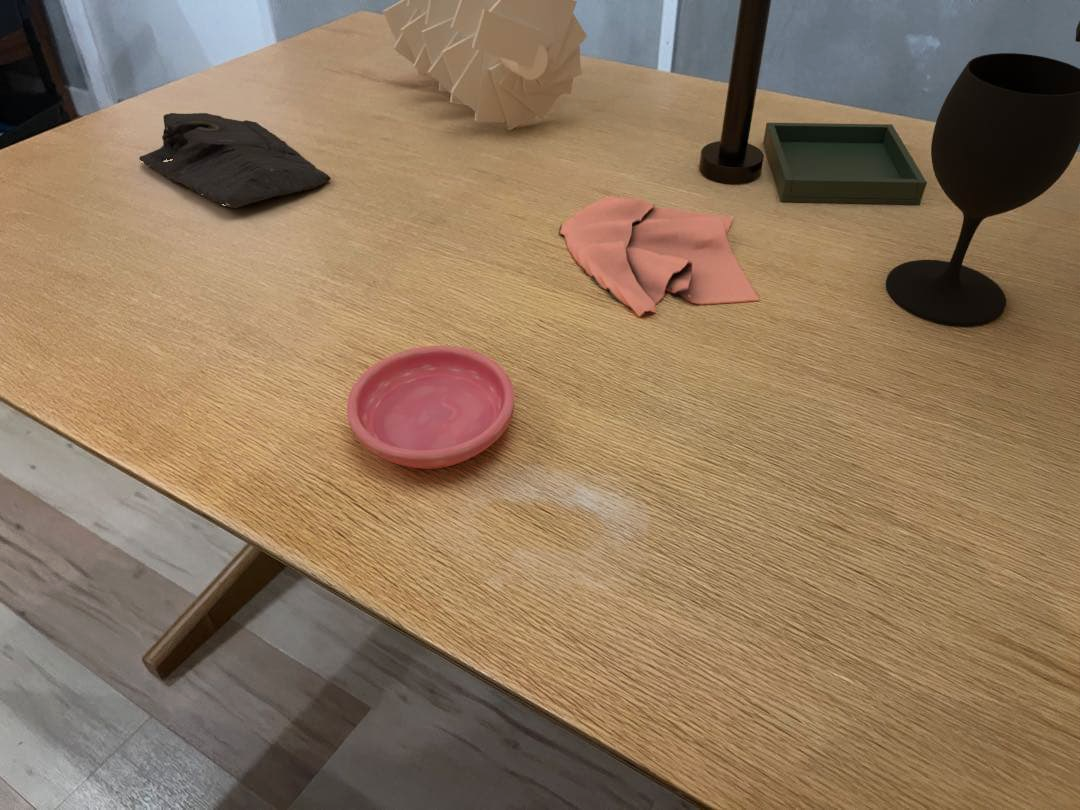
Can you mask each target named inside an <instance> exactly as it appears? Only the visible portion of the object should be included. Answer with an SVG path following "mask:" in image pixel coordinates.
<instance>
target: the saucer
mask: <svg viewBox="0 0 1080 810" xmlns="http://www.w3.org/2000/svg"><path fill="white" fill-rule="evenodd" d="M515 397H516V396H515V388H514V386H513V382H512V380H511V378H510V376H509V375H508V373H507V372H506V371H505V370H504V369H503V367H502V366H501V365H500V364H498V362H496V361H495V360H493V359H492V358H490V357H488V356H487V355H485V354H483V353H480V352H478V351H476V350H473V349H468V348H465V347H459V346H453V345H426V346H419V347H414V348H409V349H405V350H401V351H399V352H396V353H393V354H391V355H389V356H386V357H384V358H382V359H381V360H379V361H377V362H375V363H374V364H373V365H371V366H370V367H369V368H367V369H366V370H365V371H364V372H363V373H362V374H361V375H360V377H358V378H357V379H356V382H354V384H353V386H352V388H351V389H350V392H349V394H348V397H347V400H346V401H347V403H346V415H347V420H348V423H349V427H350V429H351V432H352V434H353V435H354V437H355V438H356V439H357V441H358V442H359V443H360V444H361V445H362V446H363V448H365V449H366V450H368V451H369V452H371V453H372V454H374V455H375V456H377V457H378V458H382V459H384V460H385V461H388V462H390V463H394V464H397V465H399V466H404V467H409V468H414V469H421V470H434V469H443V468H447V467H452V466H455V465H458V464H460V463H463V462H465V461H468V460H469V459H472V458H474V457H475V456H477V455H480V453H482V452H483V451H485V450H486V449H489V447H490V446H491V445H492V444H494V443H496V441H497V440H499V438H501V436H502V435H503V434H504V433H505V431H506V430H507V428H508V426H509V425H510V423H511V420H512V419H513V415H514V412H515V406H516V405H515V404H516V401H515V400H516V399H515Z"/></svg>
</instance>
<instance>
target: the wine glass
mask: <svg viewBox="0 0 1080 810" xmlns="http://www.w3.org/2000/svg"><path fill="white" fill-rule="evenodd" d="M934 124H935V125H934V128H933V133H932V137H931V143H930V144H931V145H930V159H931V165H932V170H933V173H934V177H935V179H936V181H937V183H938V185H939V186H940V188H941V190H942V191H943V193H944V194H945V196H946V197H947V198H948V199H949V201H950V202H951V203H952V204H954V206H956V207H957V208H958V209H959V210H960V211H961V212H962V216H963V217H962V218H963V219H962V223H961V224H962V225H961V229H960V232H959V236H958V239H957V242H956V245H955V247H954V250H953V253H952V256H951V258H950V260H949V261H946V260H941V259H940V260H939V259H918V260H917V259H916V260H910V261H907V262H904V263H901V264H898V265H897V266H895V267H893V269H892V270H891V271H889V273H888V274H887V277H886V280H885V289H886V291H887V294H888V295H889V297H890V298H891V299H892V301H893V302H894V303H896V305H898V306H899V307H900V308H902V310H905V311H906V312H907V313H909V314H912V315H914V316H916V317H918V318H920V319H923V320H925V321H927V322H931V323H934V324H938V325H939V324H940V325H944V326H949V327H977V326H983V325H986V324H990V323H993V322H995V320H997V319H999V318H1000V317H1001V316H1002V315H1003V313H1004V311H1005V309H1006V307H1007V298H1006V294H1005V292H1004V291H1003V289H1002V288H1001V287H1000V285H999V284H998V283H997V282H995V280H993V279H992V278H991V277H989V276H987V275H986V274H984V273H982V272H980V271H978V270H976V269H974V268H972V267H969V266H966V265H963V263H964V259H965V257H966V254H967V252H968V249H969V247H970V244H971V242H972V240H973V238H974V235H975V233H976V231H977V229H978V228H979V226H980V225H981V223H982V222H983V221H984V220H985V219H986V218H991V217H994V216H999V215H1001V214H1004V213H1008V212H1010V211H1014V210H1016V209H1018V208H1020V207H1023V206H1025V205H1027V204H1029V203H1030V202H1032V201H1034V200H1036V199H1037V198H1039V197H1041V195H1043V194H1044V193H1046V192H1047V191H1048V190H1049V189H1051V188H1052V187H1053V186H1054V184H1056V182H1057V181H1058V180H1059V179H1060V178H1061V177H1062V175H1063V174H1064V173H1065V171H1066V170H1067V169H1068V168H1069V166H1070V164H1071V162H1072V161H1073V159H1074V158H1075V155H1076V153H1077V151H1078V149H1079V146H1080V68H1079V67H1077V66H1075V65H1072V64H1070V63H1067V62H1064V61H1062V60H1058V59H1054V58H1051V57H1046V56H1041V55H1035V54H1027V53H1016V52H1015V53H1014V52H1000V53H989V54H982V55H979V56H976V57H973V58H972V59H970V60H969V61H968V62H967V64H966V65H965V67H964V68H963V69H962V71H961V73H960V74H959V75H958V77H957V79H955V81H954V83H953V85H952V87H951V88H950V90H949V92H948V93H947V96H946V98H945V100H944V102H943V104H942V105H941V108H940V110H939V113H938V116H937V119H936V121H935V123H934Z"/></svg>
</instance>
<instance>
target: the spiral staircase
mask: <svg viewBox="0 0 1080 810" xmlns="http://www.w3.org/2000/svg"><path fill="white" fill-rule="evenodd" d="M576 5H577V0H400V1H397V2H396V3H394V4H392V5H390V6H389V7H387V8H385V9H384V10H382V13H383V16H384V18H385V20H386V23H387V25H388V28H389V29H390V32H391V35H392V36H393V39H394V41H395V43H394V45H393V46H392V49H393V50H394V51H396V52H397V53H398V54H399V55H401V56H402V57H404V58H405V59H406V60H408V61H409V62H410V63H412V64H413V65H412V67H414V68H415V69H416V75H417V76H429V77H430V78H432V79H433V80H435V81H437V82H438V91H439V92H448V93H450V96H449V97H450V98H449V103H450V104H457V105H465V106H467V107H468V108H469V109H471V110H472V111H474V112H475V113H474V122H476V123H504V124H506V128H507V130H508V131H512V130H513V129H516V128H517V127H518V126H521V125H522V124H524V123H526V122H527V121H529V120H530V119H533V118H534V117H536V116H537V117H538V119H540V120H541V121H544V120H545V118H546V117H547V115H548V114H549V113H550V111H551V110H552V108H553V107H554V106H555V103H556V102H557V100H558V99H559V98H560V96H561V95H571V93H572V90H573V89H572V88H573V84H574V79H575V78H577V77H580V76H582V64H581V62H582V61H581V50H580V49H581V47H580V45H581V44H582V43H583V42H584V41H585V40H586V39H587V38H588V35H587V33H586V32H585V30H584V29H583V27H582V25H581V23H580V22H579V20H578V19H577V17H576V15H575V14H574V11H575V8H576Z"/></svg>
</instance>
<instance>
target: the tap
mask: <svg viewBox="0 0 1080 810" xmlns="http://www.w3.org/2000/svg"><path fill="white" fill-rule="evenodd" d="M771 4H772V0H740V1H739V9H738V16H737V22H736V29H735V34H734V35H735V36H734V41H733V42H734V43H733V51H732V58H731V64H730V72H729V79H728V85H727V92H726V98H725V100H726V101H725V107H724V113H723V120H722V121H723V122H722V127H721V134H720V135H721V136H720V140H718V141H712V142H710V143H708V144H705V146H703V147H702V148H701V151H700V156H699V157H700V158H699V165H698V170H699V172H700V174H701V175H702V176H703V177H704V178H706V179H707V180H710V181H712V182H715V183H719V184H724V185H743V184H749V183H753V182H754V181H756V180H758V179H759V178H760V177H761V174H762V170H763V165H764V160H765V159H764V158H765V155H764V152H763V150H761V149H760V148H759V147H757V146H756V145H753V144H752V143H749V138H750V132H751V128H752V127H751V125H752V121H753V113H754V108H755V102H756V96H757V90H758V85H759V82H758V81H759V78H760V73H761V72H760V71H761V67H762V66H761V65H762V60H763V59H762V58H763V54H764V47H765V42H766V34H767V29H768V24H769V23H768V22H769V17H770V10H771V6H772V5H771Z"/></svg>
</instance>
